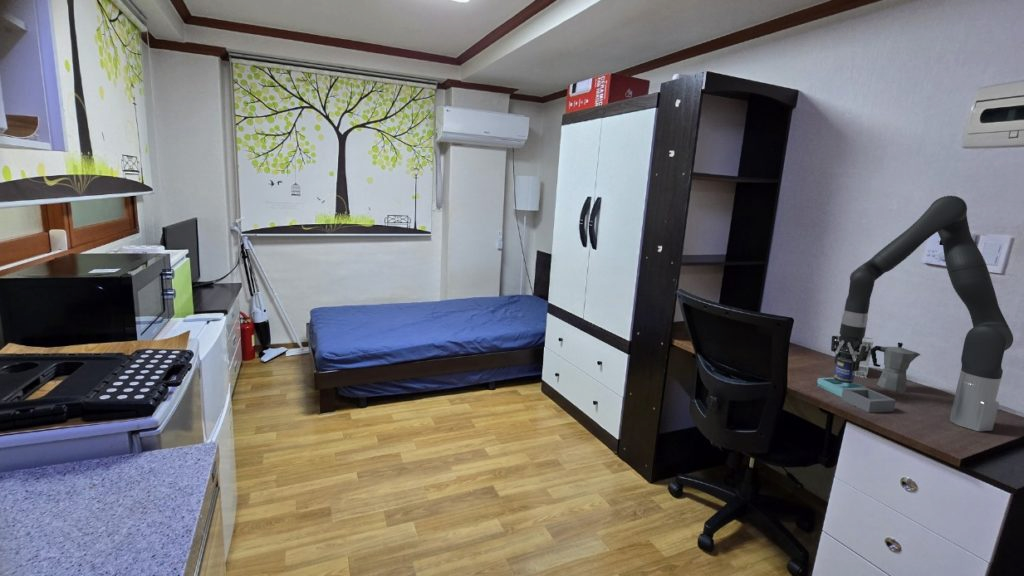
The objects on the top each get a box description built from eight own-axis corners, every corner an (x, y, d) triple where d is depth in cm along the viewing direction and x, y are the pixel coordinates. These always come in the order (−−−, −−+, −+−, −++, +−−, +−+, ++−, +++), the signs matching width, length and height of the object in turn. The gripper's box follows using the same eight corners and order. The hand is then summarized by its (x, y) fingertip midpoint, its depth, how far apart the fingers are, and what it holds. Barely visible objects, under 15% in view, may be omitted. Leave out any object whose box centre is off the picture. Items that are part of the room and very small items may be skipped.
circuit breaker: (865, 368, 205) (871, 335, 203) (866, 378, 194) (873, 342, 191) (844, 364, 209) (850, 331, 207) (844, 373, 198) (850, 338, 195)
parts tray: (866, 396, 174) (868, 388, 173) (841, 397, 172) (843, 389, 171) (840, 384, 184) (841, 377, 184) (816, 385, 182) (818, 378, 182)
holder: (893, 411, 162) (895, 400, 161) (868, 412, 159) (870, 401, 159) (865, 398, 172) (867, 387, 171) (840, 399, 169) (842, 389, 169)
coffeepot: (908, 386, 186) (917, 342, 183) (917, 395, 177) (927, 348, 174) (860, 379, 192) (869, 336, 188) (867, 387, 183) (876, 342, 180)
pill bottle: (831, 379, 178) (836, 351, 176) (836, 376, 182) (841, 348, 180) (850, 384, 173) (856, 355, 171) (855, 381, 177) (860, 352, 175)
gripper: (880, 328, 167) (872, 374, 170) (844, 318, 181) (837, 360, 184) (863, 329, 166) (854, 374, 169) (828, 318, 179) (821, 361, 182)
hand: (845, 367), depth 176 cm, fingers closed on pill bottle, 6 cm apart
